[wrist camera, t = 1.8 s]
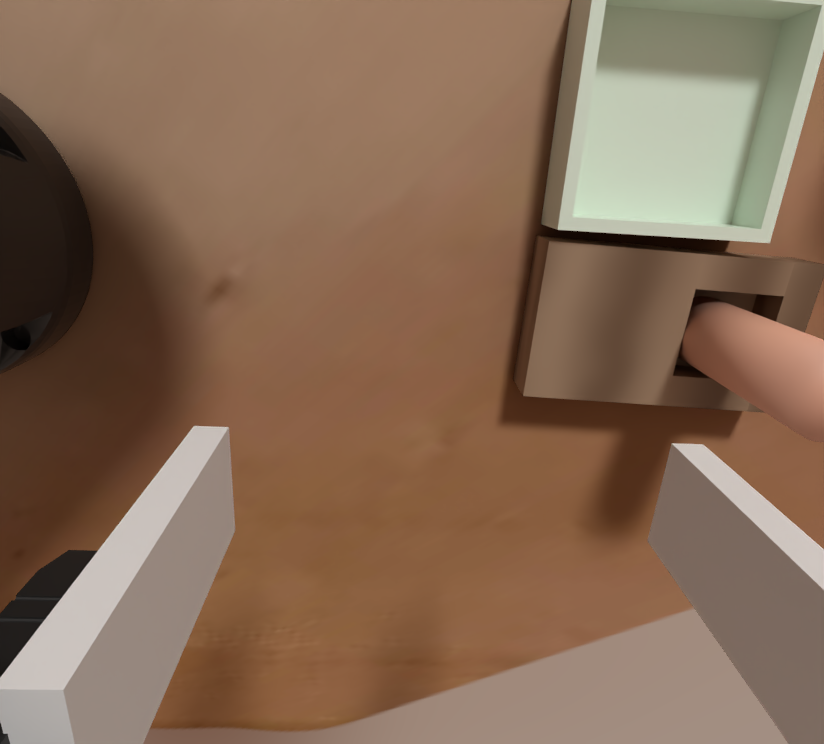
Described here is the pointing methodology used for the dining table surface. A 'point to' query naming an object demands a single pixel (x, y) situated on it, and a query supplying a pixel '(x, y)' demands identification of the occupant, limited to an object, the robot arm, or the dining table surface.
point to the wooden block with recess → (642, 318)
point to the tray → (681, 115)
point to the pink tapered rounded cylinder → (759, 362)
